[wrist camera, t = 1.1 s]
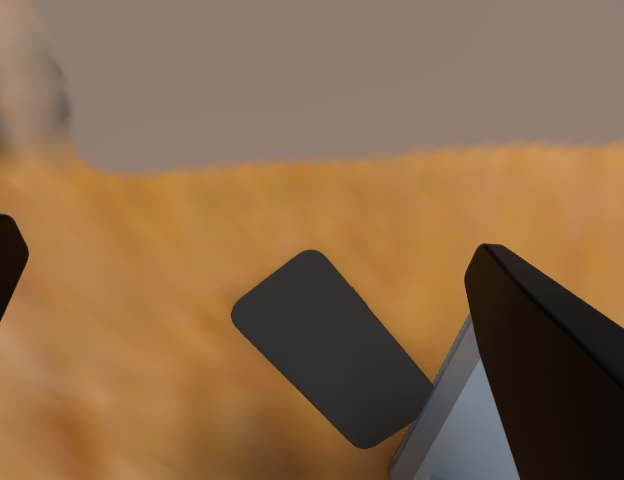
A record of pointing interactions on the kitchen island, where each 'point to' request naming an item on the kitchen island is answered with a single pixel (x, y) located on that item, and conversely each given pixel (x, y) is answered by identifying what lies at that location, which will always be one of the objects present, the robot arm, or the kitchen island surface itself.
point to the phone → (333, 349)
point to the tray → (457, 425)
